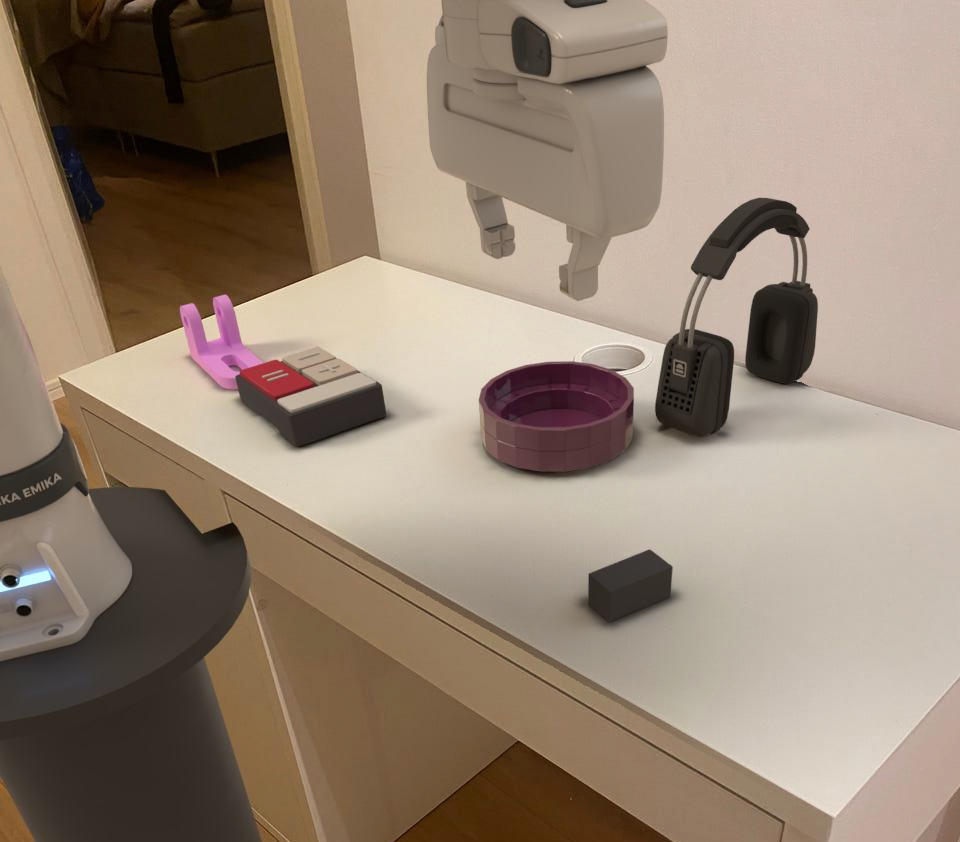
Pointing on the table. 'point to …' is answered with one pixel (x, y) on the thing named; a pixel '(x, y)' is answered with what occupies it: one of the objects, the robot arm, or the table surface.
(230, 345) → the bracket
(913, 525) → the table surface
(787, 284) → the headphones
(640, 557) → the eraser
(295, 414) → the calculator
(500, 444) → the bowl
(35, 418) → the robot arm
